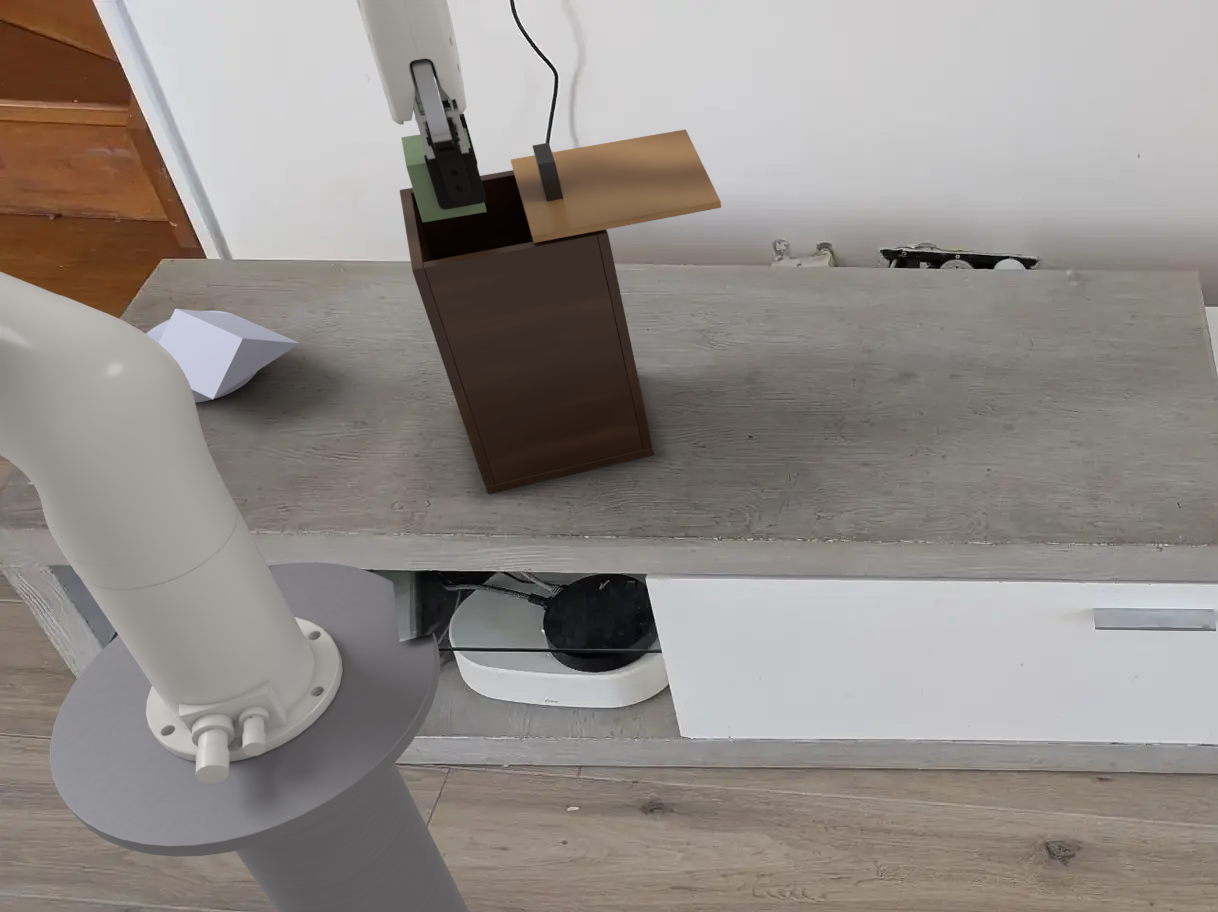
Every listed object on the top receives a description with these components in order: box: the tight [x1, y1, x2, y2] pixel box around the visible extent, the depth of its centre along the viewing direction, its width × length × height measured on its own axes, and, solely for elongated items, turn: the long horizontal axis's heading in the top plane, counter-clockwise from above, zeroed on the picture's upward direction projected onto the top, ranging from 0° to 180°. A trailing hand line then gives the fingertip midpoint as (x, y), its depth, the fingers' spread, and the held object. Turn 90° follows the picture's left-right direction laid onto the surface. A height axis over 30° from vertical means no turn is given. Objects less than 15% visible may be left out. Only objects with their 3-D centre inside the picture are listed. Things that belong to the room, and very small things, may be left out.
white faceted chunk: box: [145, 308, 300, 404], centre depth 115 cm, size 9×7×13 cm
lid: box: [510, 129, 722, 243], centre depth 98 cm, size 12×14×4 cm
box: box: [399, 169, 655, 494], centre depth 105 cm, size 12×14×21 cm
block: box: [401, 128, 486, 222], centre depth 94 cm, size 4×4×4 cm
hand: (458, 184), depth 95 cm, fingers closed on block, 4 cm apart
